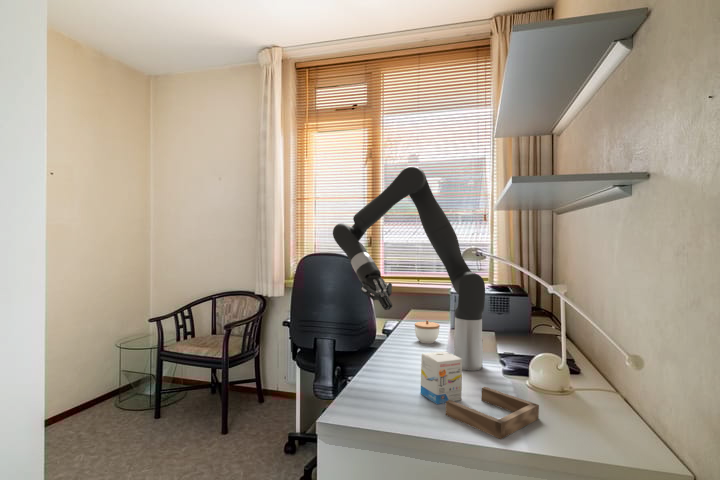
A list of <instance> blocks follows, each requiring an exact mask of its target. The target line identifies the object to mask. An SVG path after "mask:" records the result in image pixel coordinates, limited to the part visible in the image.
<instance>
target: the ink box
mask: <svg viewBox="0 0 720 480" xmlns="http://www.w3.org/2000/svg"><path fill="white" fill-rule="evenodd" d="M420 362H421V364H420V370H421V371H420V393H419V394H420V395H422V396H424V398H427V399H428V400H430V401H431V402H432V403H434V404H436V405H441V404H446V401H448V400H451V401H454V402H458V401H462V398H463V395H462V394H463V392H462V388H463V370H462V359H461V358H459V357H457V356H455V355H454V354H453V353H451V352H447V351H434V352H425V353H421V361H420Z"/></svg>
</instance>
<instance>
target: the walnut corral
mask: <svg viewBox="0 0 720 480" xmlns="http://www.w3.org/2000/svg"><path fill="white" fill-rule="evenodd" d="M480 401H482V402H485V403H487V404H490V405H493V406H495V407H497V408H501V409H504V410H506V411H509V412H511V413H509V414H507V415H505V416H503V417H501V418H496V417H494V416H491V415H488V414H486V413H484V412H481V411H478V410H476V409H474V408H471V407H469V406H466V405H463V404H461V403H460V402H459V403H458V402H457V401H451V400H448V401H446V403H445V416H447V417H449V418H452V419H454V420H456V421H458V422H461V423H463V424H465V425H467V426H470V427H472V428H474V429H476V430H479V431H480V432H483V433H485V434H488V435H491V436H492V437H495V438H497V439H500V440H502V439H505V438H506V437H508V436H510V435H512V434H513V433H516V432H517V431H519V430H521V429H523V428H524V427H527V426H528V425H530V424H532V423H534V422H536V421H537V420H539V417H540V405H539V404H538V403H535V402H531V401H528V400H525V399H523V398H519V397H518V396H517V397H516V396H513V395H511V394H507V393H506V392H505V393H504V392H502V391H500V390H496V389H493V388H490V387H486V386H483V387H481V400H480Z"/></svg>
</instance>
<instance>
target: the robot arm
mask: <svg viewBox="0 0 720 480" xmlns="http://www.w3.org/2000/svg"><path fill="white" fill-rule="evenodd" d="M407 197H410V199H411V201H412V202H413V204H414V205H415V208H416V211H417V213H418V216H419V221H420V222H421V226H422V228H423V231H424V233H425V234H426V237H427V238H428V240H429V242H430V244H431V246H432V248H433V249H434V251H435V252H436V254H437V256H438V258H439V259H440V261H441V263H442V264H443V266H444V268H445V270H446V272H447V275H448V278H449V280H450V282H451V285H452V287H453V290H454V292H455V293H456V294H457V295H458V297H457V298H458V299H457V300H458V301H457V306H456V308H455V309H454V347H453V348H454V349H453V350H454V352H453V353H454V354H453V355H455V356H457V357H459V358H461V359H462V371H474V372H475V371H479V370H481V369H482V367H483V354H484V353H483V352H484V351H483V349H484V340H483V339H482V338H483V337H482V336H483V313H484V311H485V305H486V304H485V301H486V298H485V297H486V283H485V281H484V279H483V277H482V276H481V275H479V274H478V273H476V272H472V270H471V269H470V267H469V266H468V264H467V263H466V261H465V259H464V256H463V254H462V252H461V247H460V244H459V239H458V235H457V233H456V231H455V229H454V227H453V225H452V223H451V222H450V219H448V216H447V214H446V213H445V211H443V209H442V207H441V206H440V204H439V203H438V201H437V199H436V198H435V196H434V194H433V192H432V189H431V187H430V184H429V181H428V179H427V176H426V174H425V172H424V171H423V169H421V167H418V166H415V165H411V166H409V165H408V166H406V167H404V168H403V169H402V170H401V171H400V173H399V174H398V175H397V176H396V177H395V178H394V180H392V181H391V183H390V184H389V185H388V186H387V187H386V188H385V189H384V190H383V191H382V192H381V193H380V194H378V195H377V196H376V197H375V198H373V199H372V200H371V201H370V202H368V203H367V204H366V205H364V206H363V207H362V208H361V209H359V211H358V212H356V213H355V214H354V215H353V217H352V218H353V219H352V220H353V223H354V224H352V225H348V224H347V223H344V222H343V223H342V222H341V223H337V224H336V225H334V227H333V230H332V236H333V237H332V238H333V239H334V242H335V243H336V244H337V245H338V246H339V248H340V249H341V250H342V251H343V253H345V254H346V257H347V259H348V261H349V263H350V264H351V266H352V269H353V270H354V272H355V274H356V276H357V278H358V280H359V281H360V283H361V284H362V287H361V288H360V292H362V293H363V294H364V295H366V296H367V297H369V298H370V299H371V300H372V301H378V302H379V304H380V305H381V307H382V308H383V309H384V310H385V311H390V310H391V309H392V308H393V304H392V302H391V300H390V296H392V291H393V290H392V289H393V283H392V282H385V280H384V278H382V275H381V271H380V269H379V267H378V266H377V264H376V262H375V260H374V259H373V258H372V256H371V255H370V254H369V252H368V251H367V249H366V247H365V246H364V245H363V243H361V242H360V240H361V238H362V237H363V236H364V235H365V234H366V232H367V231H368V230H369V229H370V228H371V227H372V226H373V225H374V224H376V223H377V222H378V221H379V220H380V219H382V217H384V216H385V215H386V214H387V213H388V212H389V211H390V209H392V208H394V206H395V205H396V204H398V203H399V202H401V201H402V200H403V199H405V198H407Z"/></svg>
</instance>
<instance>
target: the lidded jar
mask: <svg viewBox="0 0 720 480" xmlns="http://www.w3.org/2000/svg"><path fill="white" fill-rule="evenodd" d="M414 333H415V337H416V339H417V340H418V341H419V342H420V343H422V344H434V343H435V341H436V340H437V339H438V338H439V335H440V324H439V323H437V322H433V321H429V320H428V319H426V320H425V321H418V322H417V321H416V322H414Z"/></svg>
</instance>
